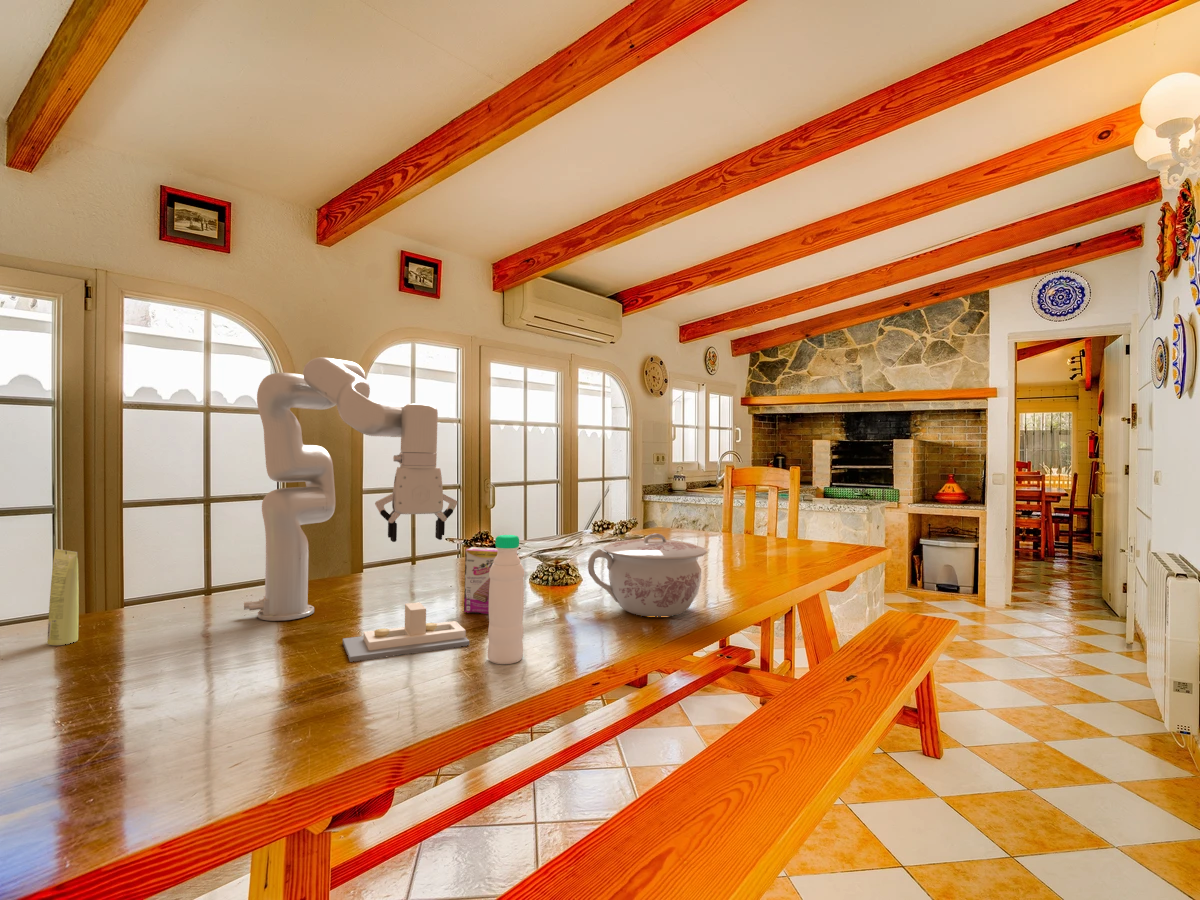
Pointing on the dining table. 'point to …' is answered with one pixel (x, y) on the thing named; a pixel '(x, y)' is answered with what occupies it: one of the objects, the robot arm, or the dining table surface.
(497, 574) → the water bottle
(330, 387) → the robot arm
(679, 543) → the chamber pot
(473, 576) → the candy bar box
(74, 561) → the tube
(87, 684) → the dining table surface
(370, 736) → the dining table surface
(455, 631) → the pink tray with post
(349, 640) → the board
